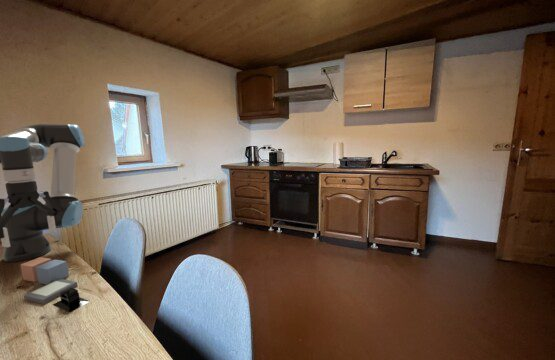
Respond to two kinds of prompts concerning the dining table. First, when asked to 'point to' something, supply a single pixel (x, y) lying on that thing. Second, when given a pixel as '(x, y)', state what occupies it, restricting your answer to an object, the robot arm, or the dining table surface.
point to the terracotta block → (32, 268)
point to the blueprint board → (49, 291)
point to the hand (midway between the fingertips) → (31, 238)
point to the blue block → (52, 271)
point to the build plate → (70, 300)
